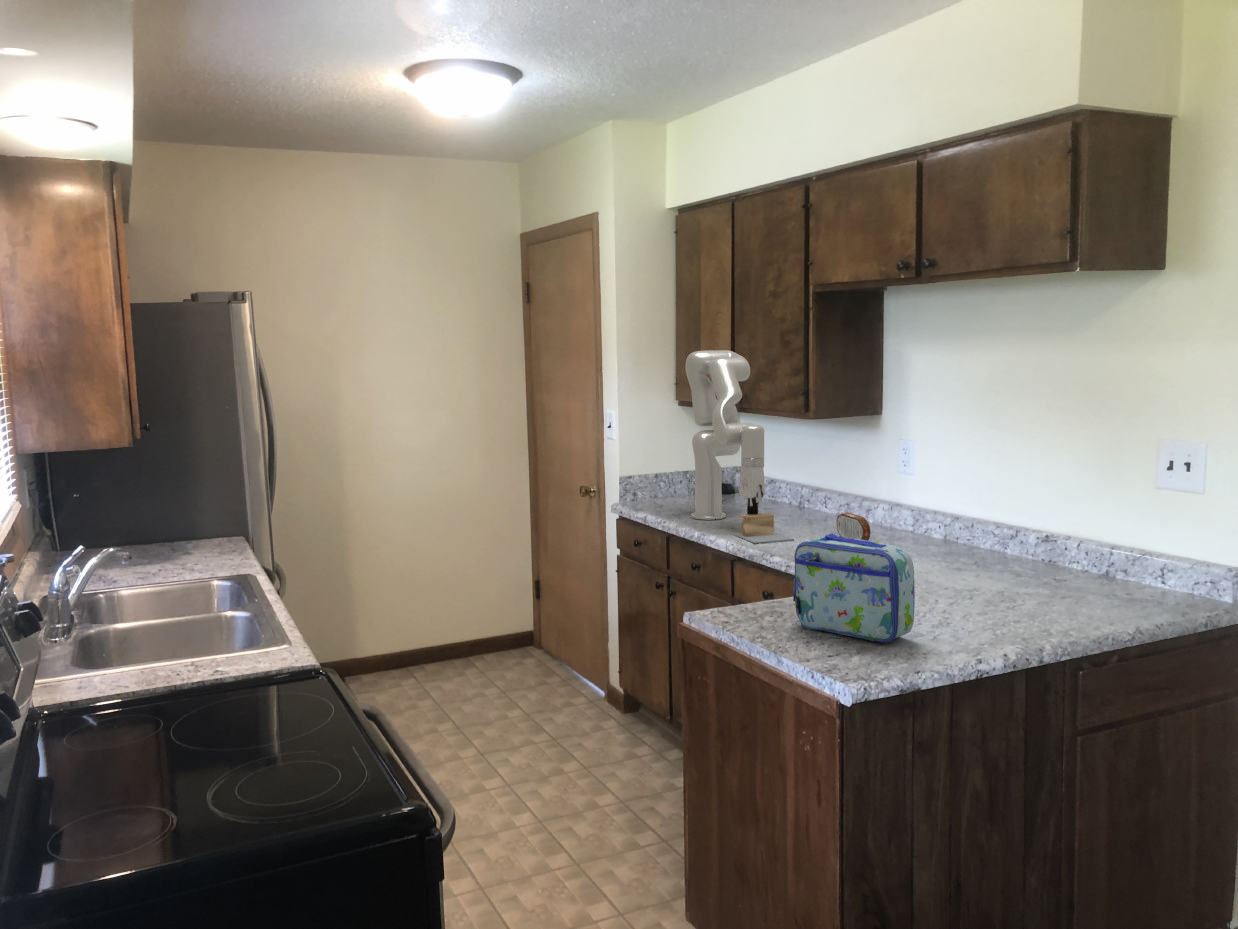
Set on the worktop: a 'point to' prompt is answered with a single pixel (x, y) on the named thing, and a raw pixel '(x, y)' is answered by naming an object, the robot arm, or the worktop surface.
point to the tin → (853, 526)
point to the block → (757, 524)
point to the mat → (766, 538)
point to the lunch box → (854, 588)
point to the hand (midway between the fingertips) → (752, 517)
